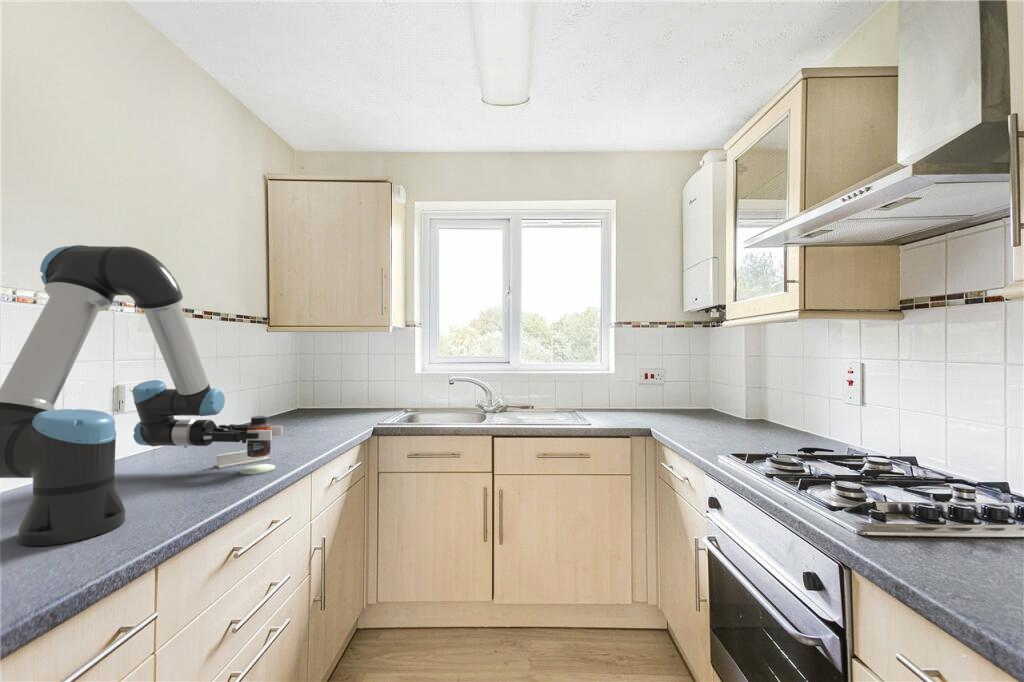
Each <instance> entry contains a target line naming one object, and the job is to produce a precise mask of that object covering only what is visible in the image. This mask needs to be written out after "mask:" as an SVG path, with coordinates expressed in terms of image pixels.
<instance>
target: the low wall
mask: <svg viewBox="0 0 1024 682" xmlns="http://www.w3.org/2000/svg"><path fill="white" fill-rule="evenodd" d="M266 461H271V457H269V454H268V455H266V456H262V457H249V456H248V455H247V449H246V450H240V451H237V452H236V451H234V452H228V453H221V454H216V463H214V467H216V468H218V469H219V470H221V469H226V467H227V468H232V466H233V467H236V466H237V467H238V465H239V466H243V465H244V466H245V465H249V464H255V463H259V462H266Z"/></svg>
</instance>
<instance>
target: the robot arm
mask: <svg viewBox="0 0 1024 682" xmlns="http://www.w3.org/2000/svg"><path fill="white" fill-rule="evenodd" d="M39 271H40V273H42V275H41V276H40V278H41V281H42V283H43V284H44V288H43V289H44V290H43V291H44V292H45V293H46V294H47V296H48V297H49V298H48V299H47V301H46V304H45V305H44V307H43V308H42V311H41V312H40V313H39V314H40V315H39V317H38V318H37V320H36V321H35V324H34V325H33V327H32V329H31V330H30V333H29V334H28V337H27V338H26V341H25V342H24V344H23V346H22V347H21V349H20V351H19V353H18V355H17V357H16V358H15V361H14V363H13V365H12V366H11V367H10V370H9V372H8V374H7V376H6V377H5V379H4V381H3V383H2V384H1V386H0V479H32V498H31V501H30V503H29V504H28V507H27V510H26V511H25V514H24V516H23V519H22V521H21V523H20V526H19V528H18V537H17V538H18V544H19V545H22V546H26V547H48V546H57V545H61V544H62V545H63V544H67V543H73V542H78V541H82V540H86V539H90V538H93V537H95V536H96V535H97V536H99V534H100V535H103V534H105V533H107V532H110V531H112V530H114V529H117V528H119V527H120V526H122V525H123V524H124V523H125V521H126V509H125V506H124V504H123V501H122V498H121V497H120V496H121V495H120V493H119V491H118V490H117V487H116V484H115V479H116V478H115V475H116V473H115V472H116V471H115V470H116V439H117V431H116V424H115V423H116V422H115V419H114V416H112V415H111V414H110V413H108V412H104V411H101V410H94V409H82V408H81V409H80V408H77V409H71V408H70V409H68V408H64V409H63V408H62V409H55V404H56V402H57V400H58V398H59V396H60V394H61V392H62V389H63V387H64V385H65V383H66V381H67V379H68V377H69V374H71V370H72V368H73V367H74V364H75V363H76V360H77V357H78V356H79V353H80V352H81V350H82V347H83V346H84V343H85V341H86V339H87V336H88V335H89V333H90V330H91V328H92V326H93V324H94V322H95V321H96V318H97V316H98V313H99V312H102V311H106V310H108V309H110V307H111V306H112V304H113V301H114V299H115V297H117V296H129V297H130V298H132V299H133V301H134V303H135V306H136V308H137V309H139V310H142V311H143V312H144V315H145V316H146V319H147V323H149V324H148V325H149V327H150V330H151V331H152V334H153V337H154V339H155V340H156V341H155V342H156V344H157V346H158V348H159V349H158V350H159V351H160V353H161V356H162V358H163V360H164V363H165V366H166V367H167V370H168V372H169V376H170V378H171V380H172V383H173V385H174V388H168V387H167V385H166V384H165V382H164V381H163V380H160V379H152V380H151V379H150V380H147V381H143V382H140V383H138V384H137V385H135V386H134V387H133V388H132V390H131V394H132V398H133V404H134V406H135V408H136V409H135V410H136V412H137V414H138V417H139V420H140V421H139V422H137V423H136V425H134V428H133V432H134V434H133V436H132V437H133V439H134V441H135V443H136V444H137V445H140V446H147V447H148V446H149V447H161V446H162V447H164V446H170V447H171V446H174V447H175V446H176V447H178V446H181V447H182V446H183V448H184V449H187V448H188V447H190V446H191V447H192V446H193V447H203V446H204V447H207V446H210V445H211V444H213V443H216V442H217V443H219V442H220V443H240V442H241V444H247V440H270V441H272V440H273V436H283V435H284V434H283V433H284V429H283V428H284V427H283V425H270V430H248V431H247V427H248V425H249V424H233V423H232V424H229V425H228V424H227V425H226V424H219V425H218V426H217V425H216V423H215V421H213V419H193V418H192V419H189V418H188V419H187V418H185V419H176V418H175V417H174V416H179V417H180V416H184V417H185V416H186V417H187V416H190V417H191V416H192V417H193V416H194V417H198V416H200V417H206V416H216V415H219V414H220V413H221V412H222V410H223V409H224V406H225V402H226V399H225V398H226V397H225V394H224V392H223V391H222V390H220V389H218V388H211V385H210V382H209V380H208V377H207V375H206V371H205V370H204V369H205V368H204V367H203V363H202V361H201V358H200V355H199V352H198V349H197V347H196V344H195V341H194V339H193V336H192V332H191V330H190V327H189V324H188V321H187V318H186V316H185V313H184V311H183V308H182V305H181V303H182V301H183V300H184V296H183V293H182V290H181V287H180V286H179V284H178V282H177V280H176V278H175V277H174V276H173V274H172V273H171V272H170V270H169V269H168V268H167V267H166V265H164V264H163V263H162V262H161V261H160V260H159V259H158V258H156V257H155V256H153V255H152V254H151V253H149V252H147V251H145V250H143V249H139V248H137V247H133V246H124V245H123V246H122V245H120V246H106V245H105V246H96V245H95V246H93V245H92V246H90V245H84V244H83V245H82V244H75V245H69V246H68V245H67V246H61V247H57V248H54V249H53V250H51V251H49V252H48V253H47V254H46V255H45V256H44V258H43V259H42V262H41V264H40V269H39ZM89 537H90V538H89Z"/></svg>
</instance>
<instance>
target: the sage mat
mask: <svg viewBox="0 0 1024 682" xmlns="http://www.w3.org/2000/svg"><path fill="white" fill-rule="evenodd" d="M275 469H276V465H275V464H268V463H267V464H266V463H264V464H263V463H262V464H254V465H249V466H244V467H242V468H241V469H240V470H239V473H240V474H241V475H247V474H248V475H249V474H250V476H251V475H260V474H265V473H269V472H273V471H274V470H275Z"/></svg>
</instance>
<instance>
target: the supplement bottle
mask: <svg viewBox="0 0 1024 682" xmlns="http://www.w3.org/2000/svg"><path fill="white" fill-rule="evenodd" d="M267 420H268V418H267V416H266V415H255V416H254V415H253V416H251V418H250V422H251V423H250V424H247V425H248V427H247V431H248V430H270V426H271V424H270V423H269V422H267ZM246 450H247V455H248V456H249V457H262V456H266V455H268V456H269V455H270V453H271V440H247V439H246Z"/></svg>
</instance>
